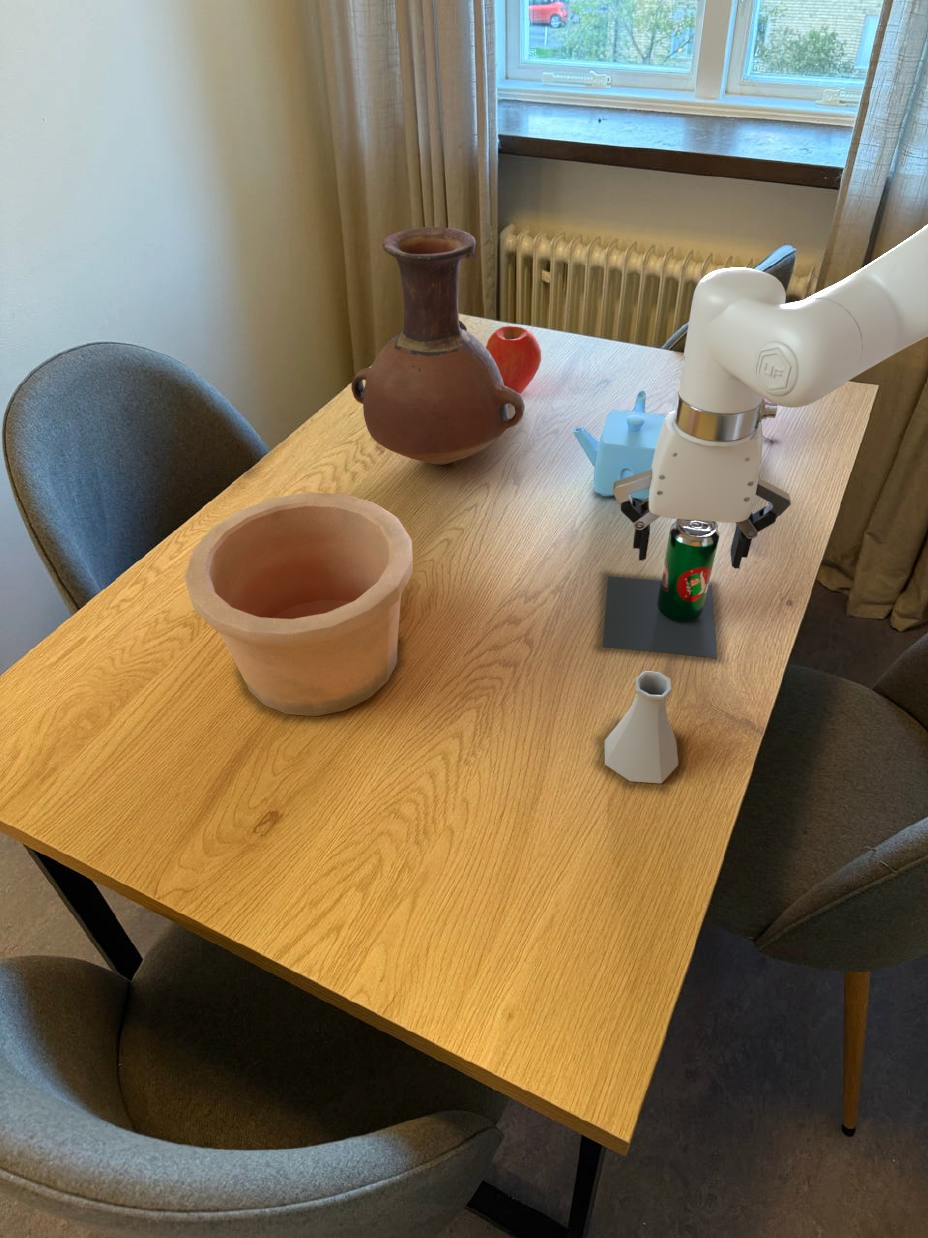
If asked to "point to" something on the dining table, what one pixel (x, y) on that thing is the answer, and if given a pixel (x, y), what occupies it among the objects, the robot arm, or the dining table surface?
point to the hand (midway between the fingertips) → (687, 556)
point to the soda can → (687, 569)
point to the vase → (434, 361)
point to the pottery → (306, 597)
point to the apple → (515, 356)
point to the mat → (653, 621)
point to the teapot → (622, 446)
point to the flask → (644, 734)
